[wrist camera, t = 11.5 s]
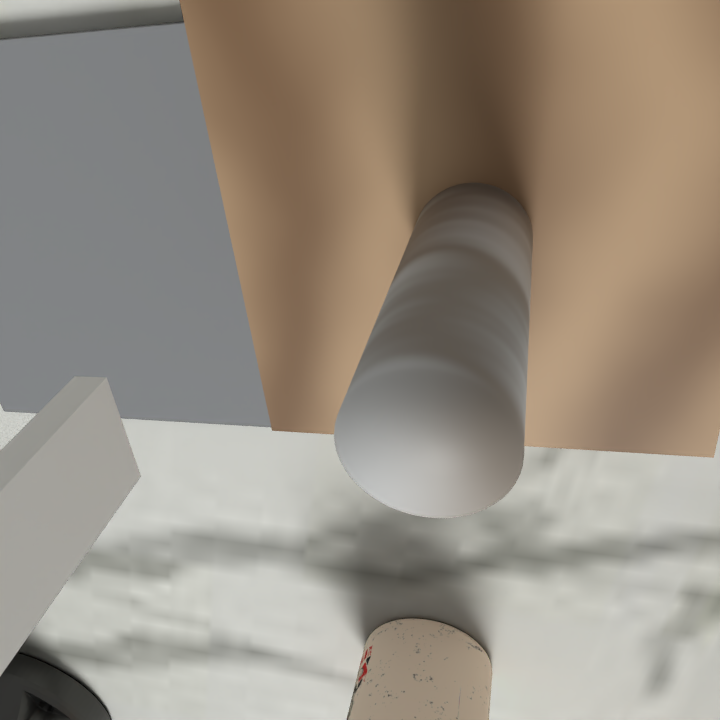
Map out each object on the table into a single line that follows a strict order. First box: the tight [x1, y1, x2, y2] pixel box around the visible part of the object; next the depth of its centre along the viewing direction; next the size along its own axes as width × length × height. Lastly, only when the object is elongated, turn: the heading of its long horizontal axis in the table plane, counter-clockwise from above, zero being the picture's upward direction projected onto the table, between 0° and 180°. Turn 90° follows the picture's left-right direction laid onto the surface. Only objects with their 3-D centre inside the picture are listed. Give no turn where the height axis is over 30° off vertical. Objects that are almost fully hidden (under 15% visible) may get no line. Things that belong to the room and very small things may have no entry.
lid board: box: [179, 0, 720, 518], centre depth 18 cm, size 16×16×11 cm
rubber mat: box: [0, 22, 271, 427], centre depth 34 cm, size 20×20×1 cm
